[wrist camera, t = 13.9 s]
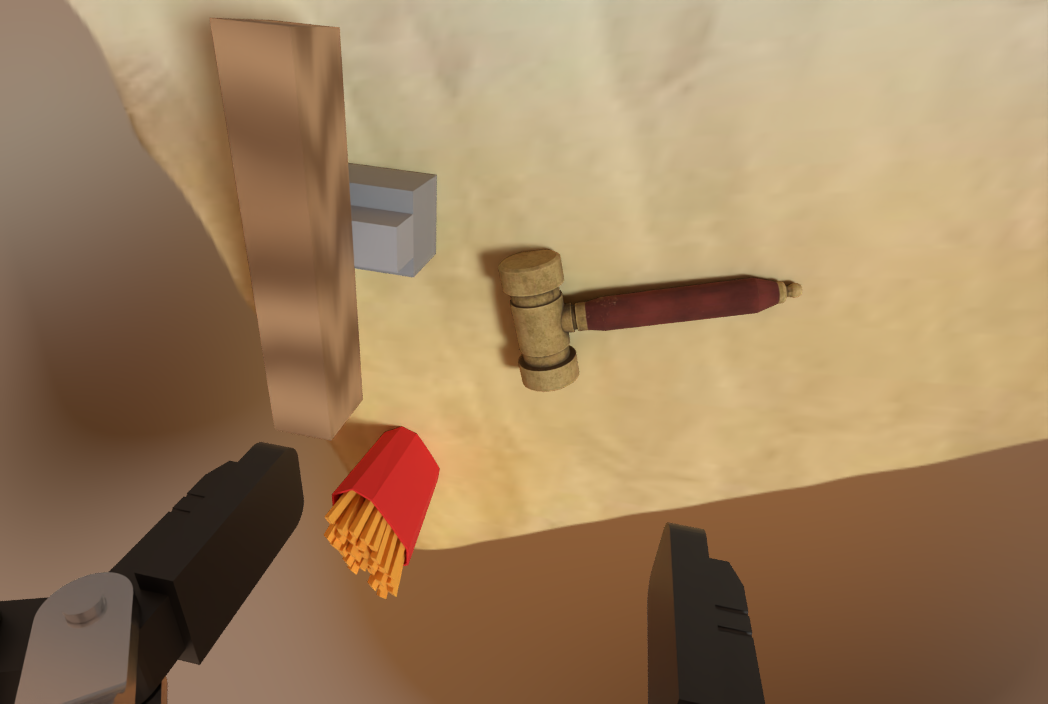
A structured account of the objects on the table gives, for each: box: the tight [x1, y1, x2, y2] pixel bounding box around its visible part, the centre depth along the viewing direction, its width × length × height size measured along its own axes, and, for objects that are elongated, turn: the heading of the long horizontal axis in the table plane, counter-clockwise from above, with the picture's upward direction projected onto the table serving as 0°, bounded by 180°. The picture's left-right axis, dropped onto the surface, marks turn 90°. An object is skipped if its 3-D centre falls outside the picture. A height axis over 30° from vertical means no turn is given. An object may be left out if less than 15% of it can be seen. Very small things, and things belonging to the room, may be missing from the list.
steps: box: [348, 163, 437, 277], centre depth 40 cm, size 6×10×8 cm, turn 85°
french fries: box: [324, 427, 440, 599], centre depth 50 cm, size 9×4×13 cm, turn 26°
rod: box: [210, 18, 363, 441], centre depth 35 cm, size 24×4×5 cm, turn 175°
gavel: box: [498, 249, 802, 392], centre depth 42 cm, size 21×5×10 cm
